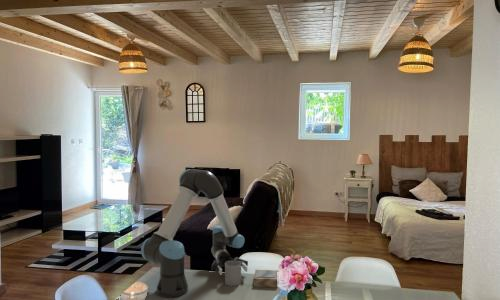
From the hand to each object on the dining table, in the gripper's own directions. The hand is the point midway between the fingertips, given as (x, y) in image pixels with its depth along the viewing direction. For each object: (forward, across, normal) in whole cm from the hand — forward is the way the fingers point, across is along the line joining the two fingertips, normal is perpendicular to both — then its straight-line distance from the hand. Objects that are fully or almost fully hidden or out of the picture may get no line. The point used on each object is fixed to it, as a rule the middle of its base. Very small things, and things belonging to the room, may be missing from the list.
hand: (234, 270), depth 191 cm
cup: (0, +1, -6) cm, 6 cm away
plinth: (+6, -16, -6) cm, 18 cm away
